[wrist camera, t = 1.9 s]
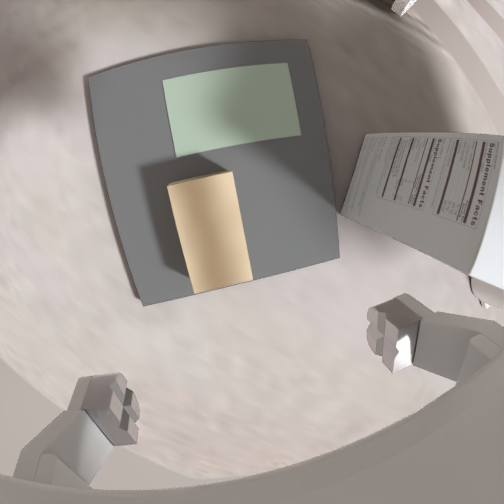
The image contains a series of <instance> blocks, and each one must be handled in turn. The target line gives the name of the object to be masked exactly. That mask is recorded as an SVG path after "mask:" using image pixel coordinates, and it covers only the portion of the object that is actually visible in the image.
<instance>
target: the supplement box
mask: <svg viewBox="0 0 504 504" xmlns="http://www.w3.org/2000/svg"><path fill="white" fill-rule="evenodd" d="M340 214H341V215H342V216H345V217H347V218H349V219H351V220H354V221H356V222H358V223H360V224H363V225H365V226H367V227H369V228H372V229H374V230H376V231H378V232H380V233H383V234H385V235H387V236H389V237H391V238H393V239H395V240H397V241H400V242H402V243H404V244H406V245H408V246H410V247H412V248H414V249H417V250H419V251H421V252H423V253H425V254H427V255H429V256H431V257H433V258H435V259H437V260H439V261H441V262H443V263H445V264H447V265H449V266H451V267H453V268H455V269H457V270H459V271H461V272H462V273H465V274H467V275H469V276H471V277H473V278H476V279H478V280H480V281H483V282H485V283H487V284H490V285H492V286H495V287H497V288H499V289H502V290H504V136H500V135H489V134H474V133H451V132H396V133H371V134H366V135H365V138H364V141H363V144H362V148H361V151H360V154H359V158H358V161H357V164H356V167H355V171H354V174H353V177H352V180H351V183H350V186H349V189H348V192H347V195H346V198H345V201H344V204H343V207H342V209H341V212H340Z"/></svg>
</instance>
